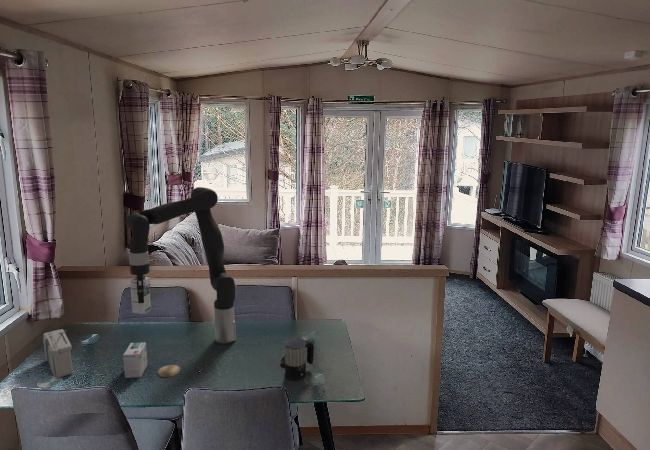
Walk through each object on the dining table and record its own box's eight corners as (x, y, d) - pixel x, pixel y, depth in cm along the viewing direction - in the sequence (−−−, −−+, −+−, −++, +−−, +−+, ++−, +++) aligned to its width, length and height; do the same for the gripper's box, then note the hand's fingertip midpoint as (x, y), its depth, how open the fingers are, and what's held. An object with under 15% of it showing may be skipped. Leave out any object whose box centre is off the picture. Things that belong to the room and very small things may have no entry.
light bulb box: (132, 364, 211) (130, 342, 208) (148, 364, 211) (146, 341, 209) (124, 378, 200) (122, 354, 198) (141, 377, 201) (139, 354, 199)
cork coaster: (179, 364, 211) (179, 363, 211) (180, 375, 203) (180, 374, 203) (157, 368, 208) (157, 367, 208) (158, 378, 200) (158, 377, 200)
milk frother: (297, 383, 198) (297, 350, 194) (267, 372, 206) (266, 340, 202) (316, 368, 210) (317, 336, 206) (287, 358, 218) (287, 327, 214)
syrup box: (144, 314, 200) (142, 280, 197) (131, 312, 201) (129, 279, 198) (152, 309, 205) (150, 276, 202) (139, 307, 206) (137, 275, 203)
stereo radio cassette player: (45, 360, 214) (39, 318, 209) (66, 354, 219) (60, 313, 214) (53, 381, 198) (47, 336, 193) (75, 374, 203) (70, 330, 198)
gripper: (149, 266, 193) (151, 304, 197) (149, 256, 206) (150, 292, 210) (128, 267, 191) (131, 306, 194) (130, 257, 204) (132, 294, 207)
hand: (141, 299), depth 202 cm, fingers closed on syrup box, 7 cm apart
